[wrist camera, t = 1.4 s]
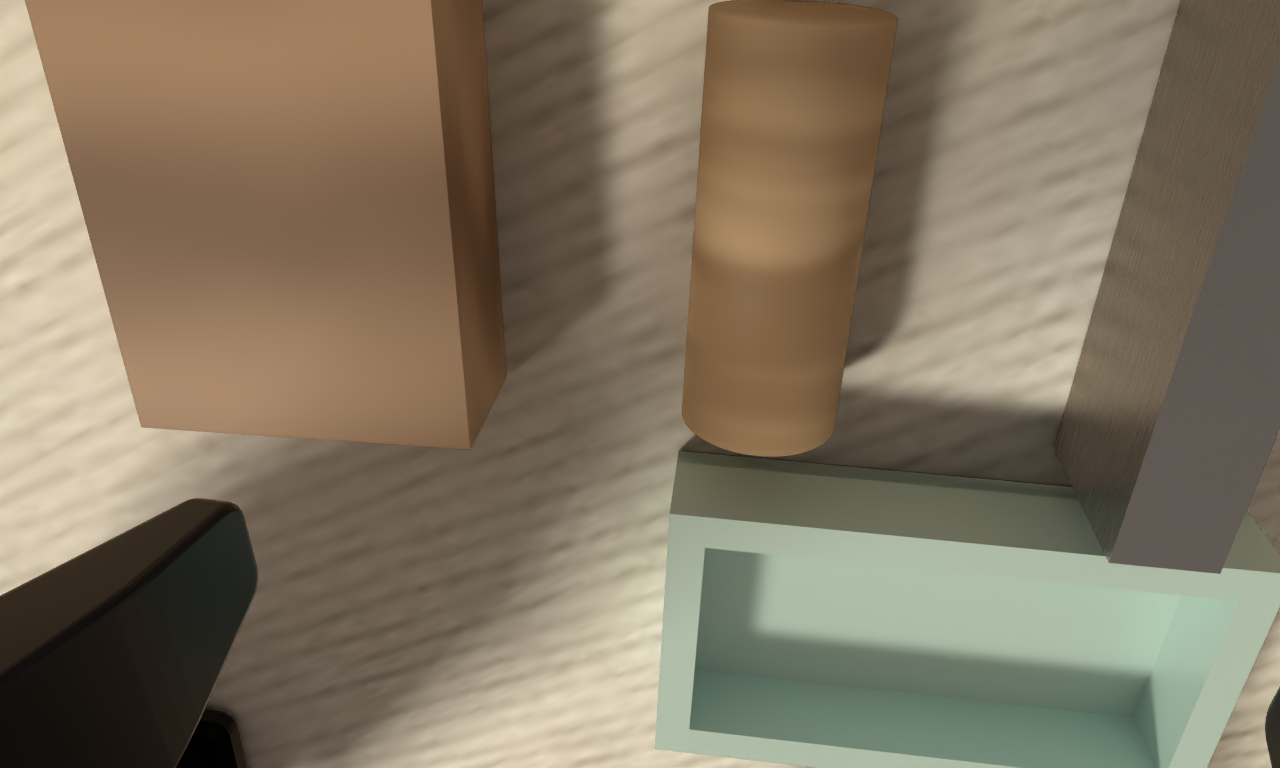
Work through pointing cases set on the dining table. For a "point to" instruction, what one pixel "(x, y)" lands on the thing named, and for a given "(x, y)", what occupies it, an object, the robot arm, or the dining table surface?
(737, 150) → the roller
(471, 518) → the dining table surface
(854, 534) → the cradle
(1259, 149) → the rail
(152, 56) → the slab
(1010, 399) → the dining table surface
